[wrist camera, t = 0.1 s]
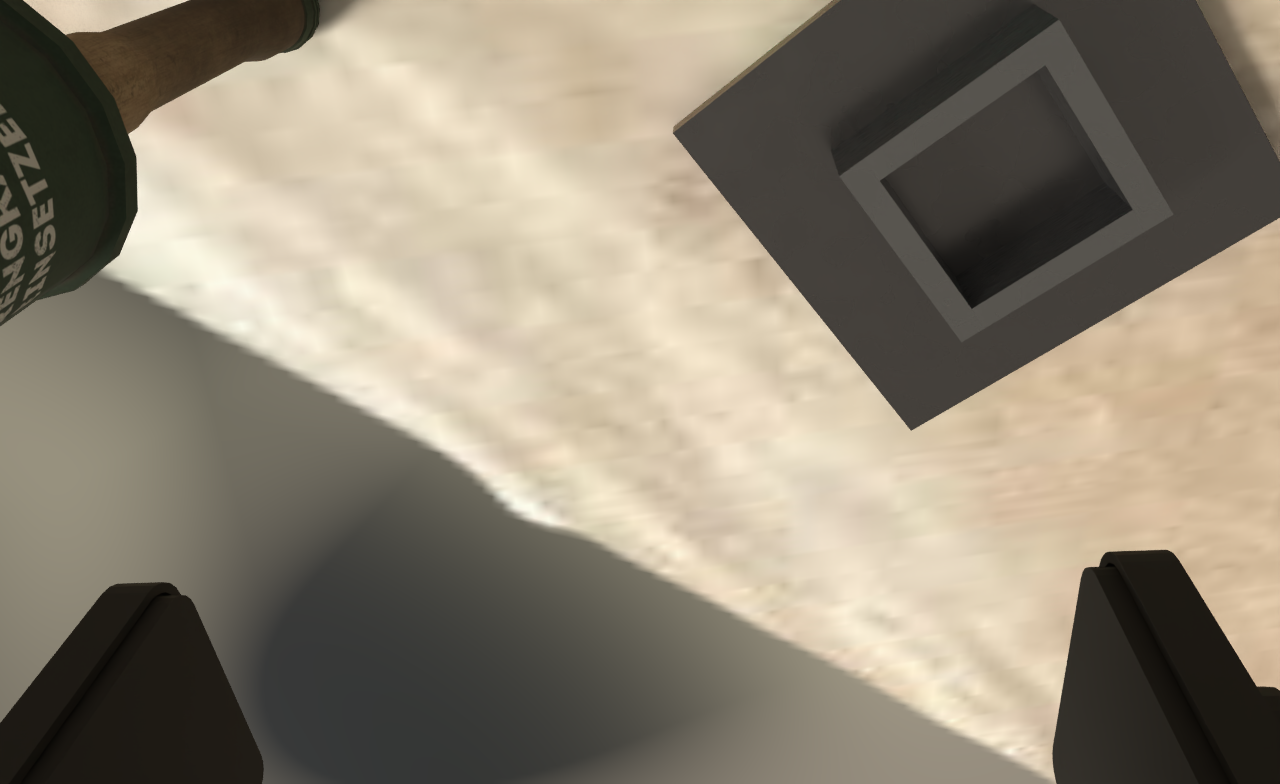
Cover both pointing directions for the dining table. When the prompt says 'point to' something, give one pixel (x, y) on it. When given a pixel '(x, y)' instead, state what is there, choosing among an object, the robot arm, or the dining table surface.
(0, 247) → the grenade
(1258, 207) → the socket holder
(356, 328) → the dining table surface
